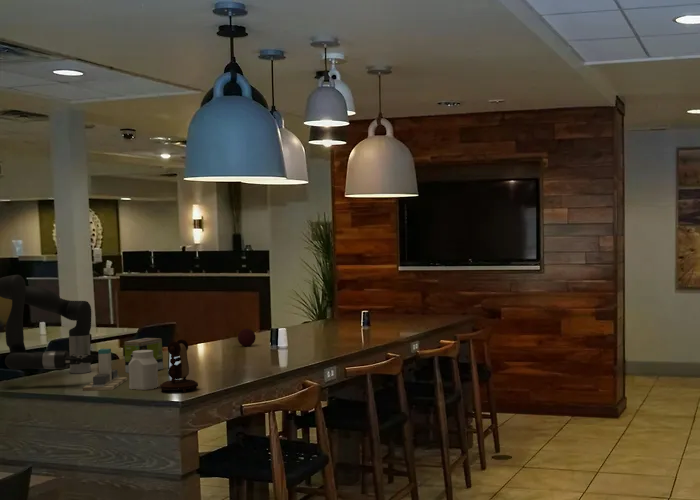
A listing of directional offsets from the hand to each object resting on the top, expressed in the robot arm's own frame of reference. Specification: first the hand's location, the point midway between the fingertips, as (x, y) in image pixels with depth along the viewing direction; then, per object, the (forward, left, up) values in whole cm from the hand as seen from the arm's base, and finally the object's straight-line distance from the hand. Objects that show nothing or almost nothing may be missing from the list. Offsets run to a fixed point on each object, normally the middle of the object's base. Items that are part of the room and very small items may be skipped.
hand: (94, 358), depth 365 cm
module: (0, +4, -9) cm, 10 cm away
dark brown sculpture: (+19, +38, -11) cm, 44 cm away
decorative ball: (-125, +51, -11) cm, 136 cm away
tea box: (-38, +12, -11) cm, 41 cm away
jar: (+10, +22, -11) cm, 27 cm away
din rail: (0, +4, -10) cm, 11 cm away
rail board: (0, +4, -11) cm, 12 cm away
